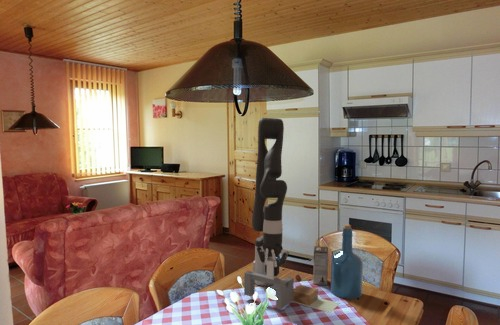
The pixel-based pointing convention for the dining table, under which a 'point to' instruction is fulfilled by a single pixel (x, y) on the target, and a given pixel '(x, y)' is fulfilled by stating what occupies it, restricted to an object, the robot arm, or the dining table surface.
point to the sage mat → (322, 305)
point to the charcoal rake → (282, 286)
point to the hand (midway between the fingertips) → (272, 274)
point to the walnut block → (305, 294)
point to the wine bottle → (346, 269)
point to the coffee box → (320, 265)
